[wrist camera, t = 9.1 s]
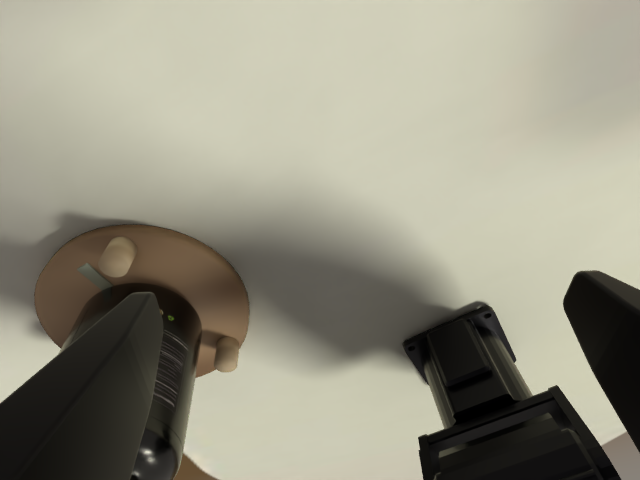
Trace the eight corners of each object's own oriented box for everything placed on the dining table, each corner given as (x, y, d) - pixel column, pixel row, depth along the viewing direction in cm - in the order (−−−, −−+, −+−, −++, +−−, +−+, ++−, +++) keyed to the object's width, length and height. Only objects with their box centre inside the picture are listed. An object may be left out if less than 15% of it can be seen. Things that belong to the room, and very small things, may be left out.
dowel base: (285, 325, 27) (286, 356, 25) (145, 392, 30) (134, 425, 28) (158, 186, 21) (144, 212, 19) (-5, 286, 24) (-33, 319, 22)
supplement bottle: (179, 370, 28) (127, 603, 18) (69, 338, 25) (-61, 590, 15) (224, 303, 24) (192, 540, 15) (104, 259, 22) (-31, 511, 12)
